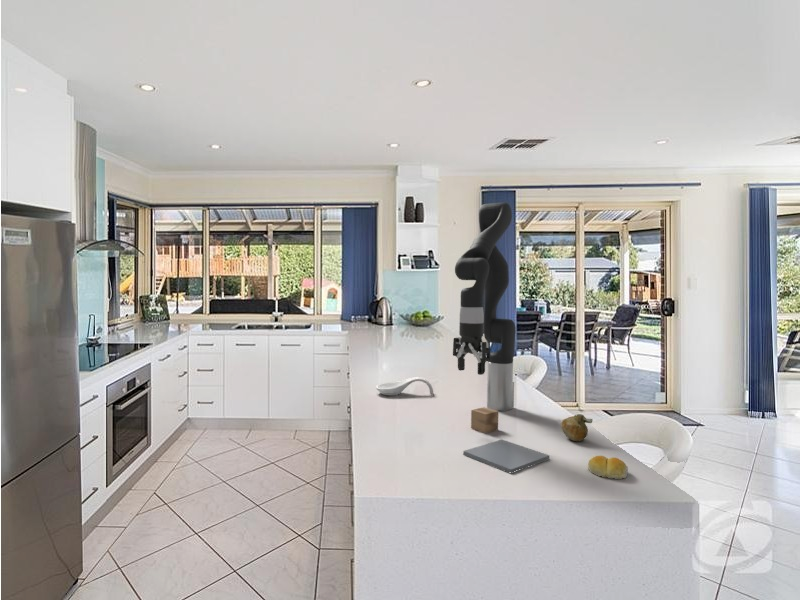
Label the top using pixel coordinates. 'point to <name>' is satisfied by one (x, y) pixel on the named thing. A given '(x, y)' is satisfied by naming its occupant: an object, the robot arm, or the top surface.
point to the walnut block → (484, 419)
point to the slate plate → (506, 455)
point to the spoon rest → (400, 386)
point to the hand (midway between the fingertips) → (470, 372)
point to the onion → (575, 427)
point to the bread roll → (608, 467)
